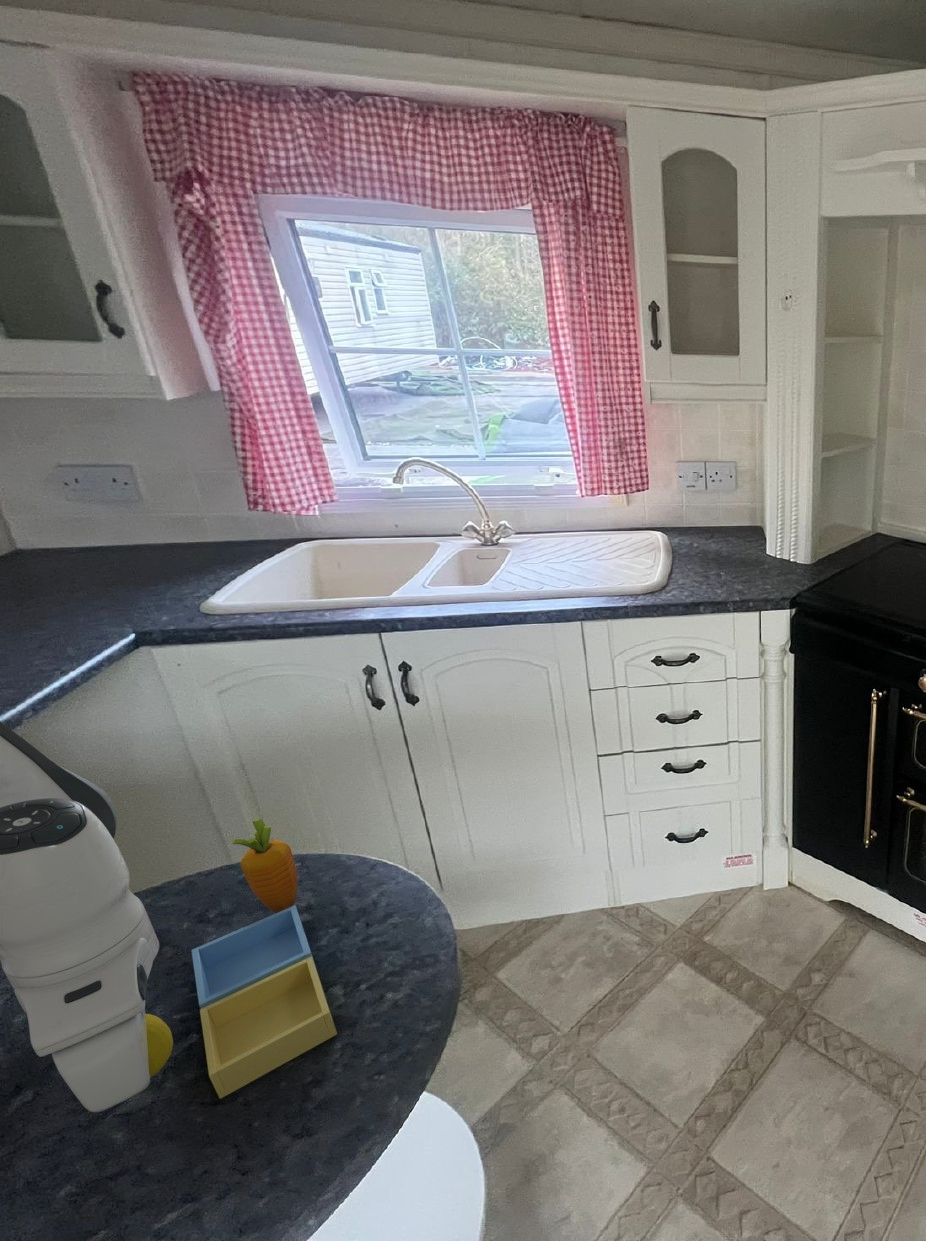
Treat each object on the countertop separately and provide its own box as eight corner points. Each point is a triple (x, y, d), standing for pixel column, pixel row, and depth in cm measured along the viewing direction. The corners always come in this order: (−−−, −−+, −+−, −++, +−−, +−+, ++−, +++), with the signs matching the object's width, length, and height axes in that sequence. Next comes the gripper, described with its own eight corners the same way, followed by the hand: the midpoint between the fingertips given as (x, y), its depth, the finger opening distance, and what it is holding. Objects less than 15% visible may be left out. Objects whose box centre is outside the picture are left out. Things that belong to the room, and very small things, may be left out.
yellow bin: (219, 1099, 71) (208, 1076, 70) (209, 1031, 77) (199, 1009, 76) (337, 1034, 78) (329, 1012, 76) (319, 977, 84) (311, 955, 83)
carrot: (290, 931, 90) (257, 840, 84) (253, 929, 90) (217, 838, 84) (319, 901, 95) (289, 813, 89) (283, 899, 95) (251, 811, 89)
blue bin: (209, 1027, 78) (198, 1005, 77) (200, 971, 84) (191, 949, 83) (317, 973, 85) (310, 952, 83) (302, 925, 91) (295, 904, 90)
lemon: (95, 1116, 66) (65, 1060, 64) (120, 1064, 71) (92, 1009, 68) (172, 1091, 69) (146, 1036, 66) (190, 1042, 73) (167, 988, 71)
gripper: (42, 910, 68) (91, 1008, 73) (29, 1061, 55) (90, 1167, 60) (132, 878, 73) (173, 973, 78) (140, 1011, 60) (188, 1114, 65)
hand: (137, 1059), depth 69 cm, fingers closed on lemon, 5 cm apart
